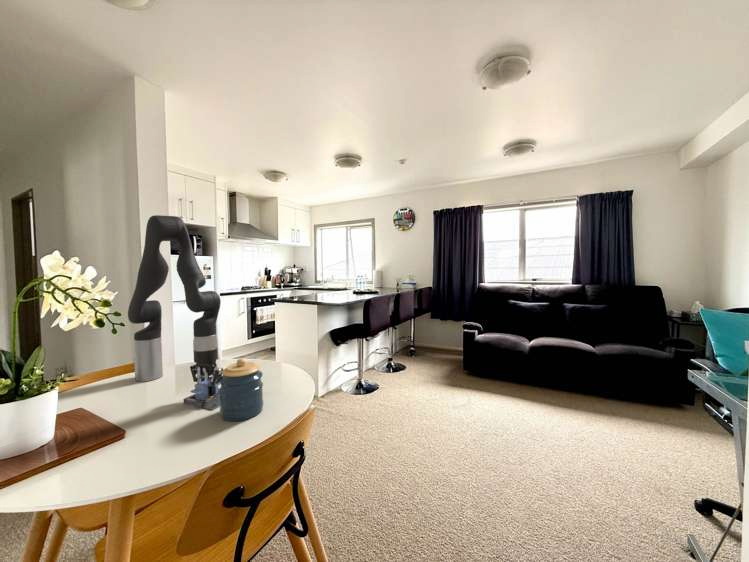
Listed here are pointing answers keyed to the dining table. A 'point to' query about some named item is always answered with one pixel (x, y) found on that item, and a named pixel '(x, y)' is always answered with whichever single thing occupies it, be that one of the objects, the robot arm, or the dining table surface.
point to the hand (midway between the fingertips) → (207, 394)
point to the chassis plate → (204, 402)
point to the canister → (241, 391)
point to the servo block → (203, 390)
